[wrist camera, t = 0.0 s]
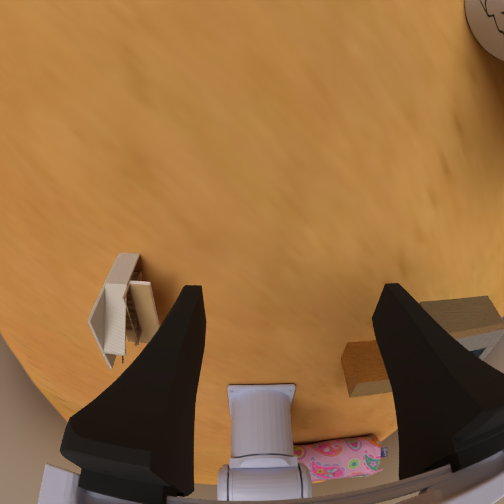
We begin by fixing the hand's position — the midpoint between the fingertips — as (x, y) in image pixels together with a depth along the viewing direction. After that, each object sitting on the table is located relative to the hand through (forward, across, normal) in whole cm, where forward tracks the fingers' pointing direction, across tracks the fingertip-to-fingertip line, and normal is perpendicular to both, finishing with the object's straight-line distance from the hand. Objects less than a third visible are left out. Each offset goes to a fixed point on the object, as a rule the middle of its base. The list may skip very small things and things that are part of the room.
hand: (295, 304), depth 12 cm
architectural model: (+11, +11, +8) cm, 17 cm away
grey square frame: (+10, -20, +16) cm, 28 cm away
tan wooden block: (+10, -11, +18) cm, 23 cm away
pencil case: (+10, -13, +50) cm, 53 cm away
